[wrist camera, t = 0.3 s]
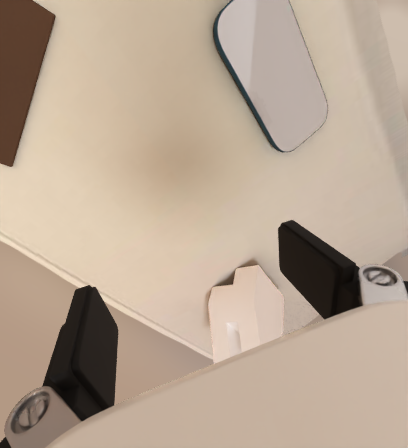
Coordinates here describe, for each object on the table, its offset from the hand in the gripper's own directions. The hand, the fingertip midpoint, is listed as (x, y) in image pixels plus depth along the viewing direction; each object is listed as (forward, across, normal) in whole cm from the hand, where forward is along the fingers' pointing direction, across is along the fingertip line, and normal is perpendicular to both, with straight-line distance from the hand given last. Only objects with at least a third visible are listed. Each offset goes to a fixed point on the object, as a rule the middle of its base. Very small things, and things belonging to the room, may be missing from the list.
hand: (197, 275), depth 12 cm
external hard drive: (+31, -22, -8) cm, 39 cm away
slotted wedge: (+31, -10, +37) cm, 49 cm away
